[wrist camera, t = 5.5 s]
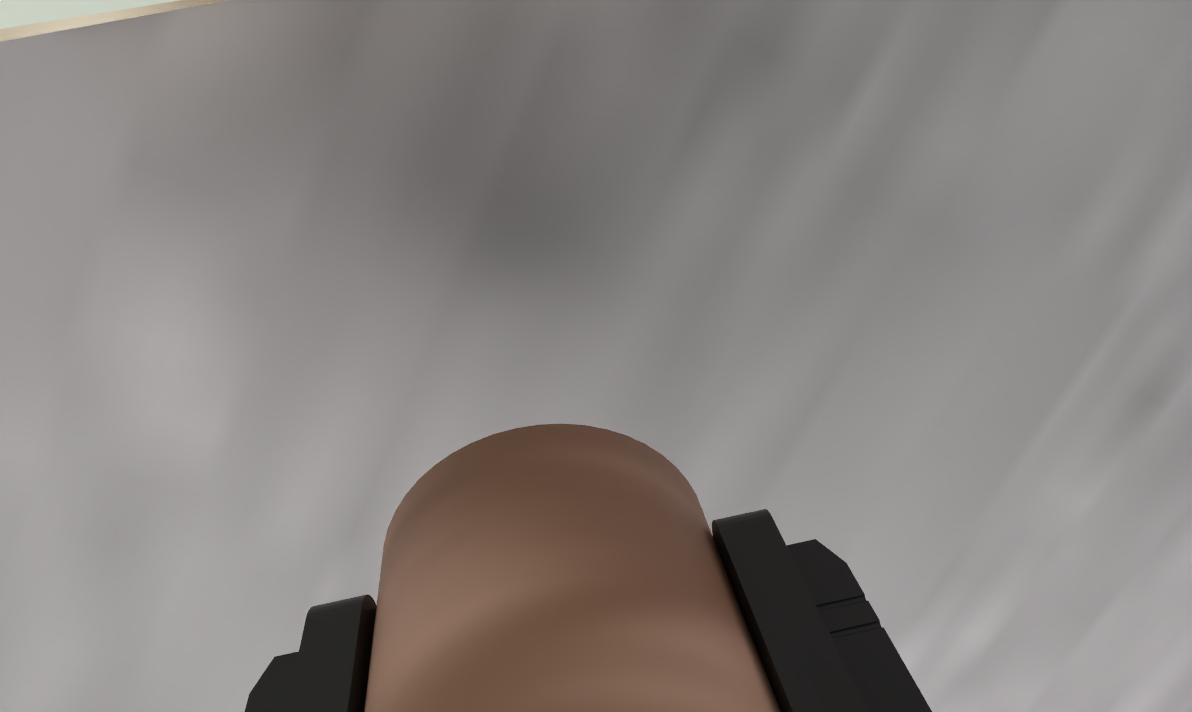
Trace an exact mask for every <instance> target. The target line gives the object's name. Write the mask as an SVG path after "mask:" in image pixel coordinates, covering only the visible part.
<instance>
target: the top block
mask: <svg viewBox="0 0 1192 712" xmlns="http://www.w3.org/2000/svg"><path fill="white" fill-rule="evenodd" d="M173 1H179V0H0V29H4V28H10V27H16V26H23V25H29V24H35V23H41V22H48V21H54V20H60V19H66V18H73V17H79V16H85V15H91V14H98V13H104V12H110V11H117V10H123V9H129V8H135V7H142V6H148V5H154V4H160V3H167V2H173Z"/></svg>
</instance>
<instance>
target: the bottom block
mask: <svg viewBox="0 0 1192 712" xmlns="http://www.w3.org/2000/svg"><path fill="white" fill-rule="evenodd" d="M223 1H228V0H179V1H173V2H167V3H160V4H154V5H148V6H142V7H135V8H129V9H123V10H117V11H110V12H104V13H98V14H91V15H85V16H79V17H73V18H66V19H60V20H54V21H48V22H41V23H35V24H29V25H23V26H16V27H10V28H4V29H0V42H1V41H6V40H12V39H17V38H23V37H28V36H34V35H39V34H45V33H51V32H56V31H62V30H67V29H73V28H78V27H84V26H89V25H95V24H100V23H106V22H112V21H117V20H123V19H128V18H134V17H139V16H145V15H150V14H156V13H162V12H167V11H173V10H178V9H184V8H189V7H195V6H200V5H206V4H211V3H217V2H223Z"/></svg>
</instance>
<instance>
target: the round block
mask: <svg viewBox="0 0 1192 712" xmlns="http://www.w3.org/2000/svg"><path fill="white" fill-rule="evenodd" d="M364 712H781V710H780V708H779V705H778V703H777V700H776V698H775V695H774V692H773V690H772V687H771V685H770V682H769V680H768V677H767V675H766V672H765V669H764V667H763V664H762V662H761V659H760V657H759V654H758V652H757V649H756V646H755V644H754V641H753V639H752V636H751V634H750V631H749V629H748V626H747V623H746V621H745V618H744V616H743V613H742V611H741V608H740V606H739V603H738V600H737V598H736V595H735V593H734V590H733V588H732V585H731V583H730V580H729V577H728V575H727V572H726V570H725V567H724V565H723V562H722V560H721V557H720V554H719V552H718V549H717V547H716V544H715V542H714V539H713V536H712V534H711V531H710V529H709V526H708V524H707V521H706V519H705V516H704V513H703V511H702V508H701V506H700V503H699V501H698V498H697V496H696V494H695V492H694V490H693V489H692V487H691V486H690V484H689V482H688V481H687V479H686V478H685V477H684V476H683V475H682V473H681V472H680V471H679V470H678V469H677V468H676V467H675V466H674V465H673V464H672V463H671V462H670V461H668V460H667V459H666V458H665V457H664V456H663V455H661V454H660V453H658V452H657V451H655V450H654V449H652V448H650V447H649V446H647V445H646V444H644V443H641V442H639V441H637V440H635V439H633V438H631V437H628V436H626V435H623V434H620V433H616V432H613V431H610V430H607V429H602V428H596V427H591V426H585V425H572V424H547V425H535V426H528V427H522V428H516V429H512V430H508V431H504V432H501V433H497V434H493V435H491V436H488V437H486V438H483V439H481V440H478V441H475V442H473V443H471V444H469V445H467V446H465V447H463V448H461V449H459V450H458V451H456V452H454V453H452V454H451V455H449V456H448V457H446V458H445V459H443V460H442V461H440V462H439V463H438V464H436V465H435V466H433V467H432V468H431V469H430V470H429V471H428V472H427V473H426V474H425V475H423V476H422V477H421V478H420V479H419V480H418V481H417V482H416V484H415V485H414V486H413V487H412V488H411V489H410V491H409V492H408V493H407V494H406V495H405V497H404V499H403V500H402V502H401V503H400V505H399V507H398V508H397V510H396V511H395V513H394V516H393V518H392V520H391V523H390V525H389V527H388V531H387V535H386V539H385V543H384V548H383V557H382V565H381V574H380V582H379V591H378V599H377V608H376V616H375V625H374V633H373V642H372V650H371V659H370V667H369V676H368V684H367V693H366V701H365V710H364Z"/></svg>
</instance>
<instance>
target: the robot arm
mask: <svg viewBox="0 0 1192 712" xmlns="http://www.w3.org/2000/svg"><path fill="white" fill-rule="evenodd" d="M712 533H713V539H714V542H715V544H716V547H717V549H718V552H719V554H720V557H721V560H722V562H723V565H724V567H725V570H726V572H727V575H728V577H729V580H730V583H731V585H732V588H733V590H734V593H735V595H736V598H737V600H738V603H739V606H740V608H741V611H742V613H743V616H744V618H745V621H746V623H747V626H748V629H749V631H750V634H751V636H752V639H753V641H754V644H755V646H756V649H757V652H758V654H759V657H760V659H761V662H762V664H763V667H764V669H765V672H766V675H767V677H768V680H769V682H770V685H771V687H772V690H773V692H774V695H775V698H776V700H777V703H778V705H779V708H780V710H781V712H932V711H931V709H930V708H929V706H928V704H927V702H926V701H925V699H924V697H923V695H922V694H921V692H920V690H919V688H918V687H917V685H916V683H915V681H914V680H913V678H912V676H911V674H910V673H909V671H908V669H907V668H906V666H905V664H904V662H903V661H902V659H901V657H900V655H899V654H898V652H897V650H896V648H895V647H894V645H893V643H892V641H891V640H890V638H889V636H888V634H887V633H886V631H885V629H884V628H882V627H881V625H880V621H879V619H878V617H877V615H876V614H875V612H874V610H873V608H872V607H871V605H870V603H869V601H866V599H865V594H864V593H863V591H862V589H861V588H860V586H859V584H858V582H857V581H856V579H855V577H854V575H853V574H852V572H851V570H850V568H849V567H848V565H847V563H846V562H844V561H843V560H842V559H841V558H839V557H838V556H837V555H835V554H834V553H833V552H831V551H830V550H829V549H828V548H826V547H825V546H824V545H822V544H821V543H820V542H818V541H817V540H816V539H814V540H810V541H805V542H800V543H796V544H791V545H787V546H786V544H785V542H784V540H783V538H782V536H781V534H780V532H779V530H778V528H777V526H776V524H775V522H774V520H773V518H772V516H771V514H770V513H769V511H768V510H766V509H764V510H759V511H754V512H750V513H745V514H741V515H736V516H731V517H727V518H722V519H718V520H713V522H712ZM376 608H377V606H376V604H375V602H374V600H373V598H372V597H371V596H370V595H363V596H359V597H354V598H350V599H345V600H340V601H336V602H331V603H327V604H322V605H317V606H313V607H311V608H310V610H309V611H308V614H307V617H306V621H305V626H304V631H303V635H302V640H301V645H300V649H299V652H295V653H290V654H285V655H281V656H276V657H274V658H273V660H272V661H271V663H270V664H269V666H268V667H267V669H266V670H265V672H264V673H263V675H262V676H261V678H260V679H259V681H258V682H257V684H256V685H255V686H254V688H253V689H252V691H251V692H250V694H249V698H248V701H247V705H246V709H245V712H364V710H365V701H366V693H367V684H368V676H369V667H370V659H371V650H372V642H373V633H374V625H375V616H376Z"/></svg>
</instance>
